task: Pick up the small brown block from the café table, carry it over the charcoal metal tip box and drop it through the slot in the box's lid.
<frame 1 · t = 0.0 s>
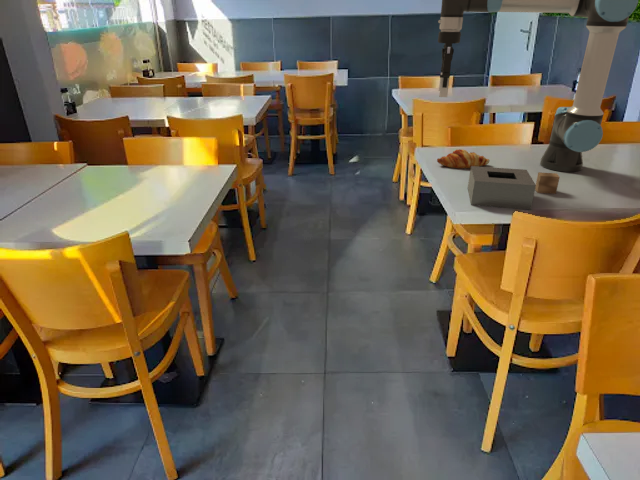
hand: (442, 94, 177), 28 cm above the table, tool pointing down, fingers open, 13 cm apart
tip box: (497, 198, 160), on the table
croissant: (462, 166, 193), on the table
brown block: (545, 191, 167), on the table
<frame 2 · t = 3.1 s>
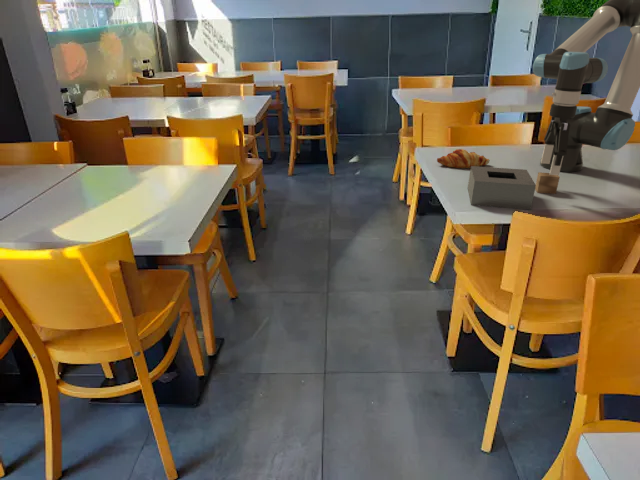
hand: (549, 168, 163), 8 cm above the table, tool pointing down, fingers open, 13 cm apart
nothing on the table moved.
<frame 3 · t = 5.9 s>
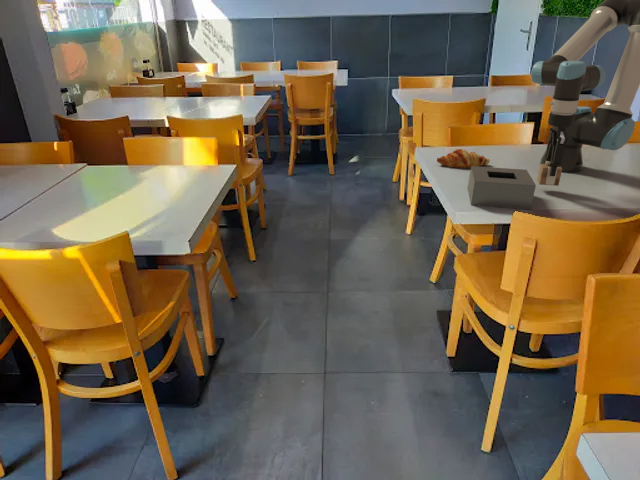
hand: (548, 181, 165), 3 cm above the table, tool pointing down, fingers closed on brown block, 4 cm apart
brown block: (547, 183, 166), point 3 cm above the table, touching gripper
everything else where it was.
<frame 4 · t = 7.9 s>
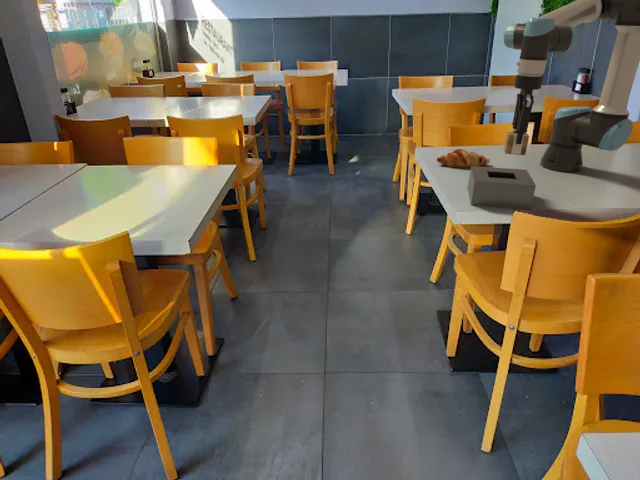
hand: (514, 151, 154), 15 cm above the table, tool pointing down, fingers closed on brown block, 4 cm apart
brown block: (514, 152, 154), point 15 cm above the table, touching gripper
everything else where it was.
when the fingers open (10 cm above the table, at t = 9.7 s): brown block drops 9 cm, resting on tip box.
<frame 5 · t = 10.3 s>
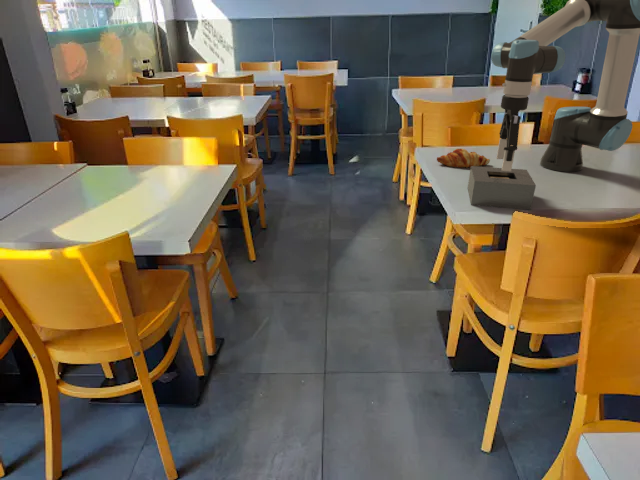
hand: (503, 164, 155), 12 cm above the table, tool pointing down, fingers open, 12 cm apart
brown block: (497, 196, 160), point 1 cm above the table, touching tip box
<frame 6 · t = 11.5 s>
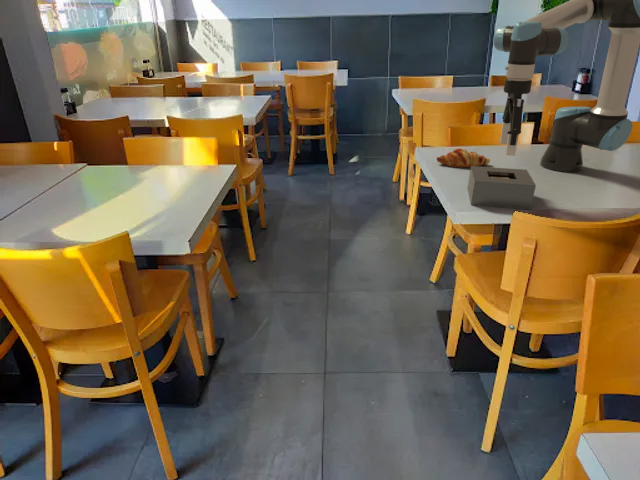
hand: (507, 149, 153), 16 cm above the table, tool pointing down, fingers open, 13 cm apart
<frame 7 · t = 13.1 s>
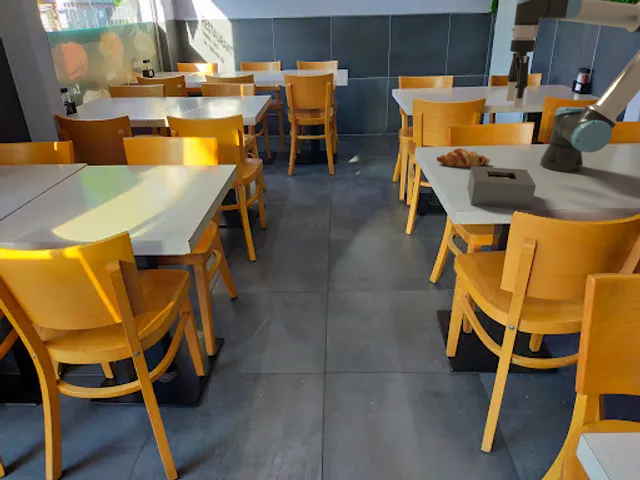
hand: (513, 104, 170), 26 cm above the table, tool pointing down, fingers open, 13 cm apart
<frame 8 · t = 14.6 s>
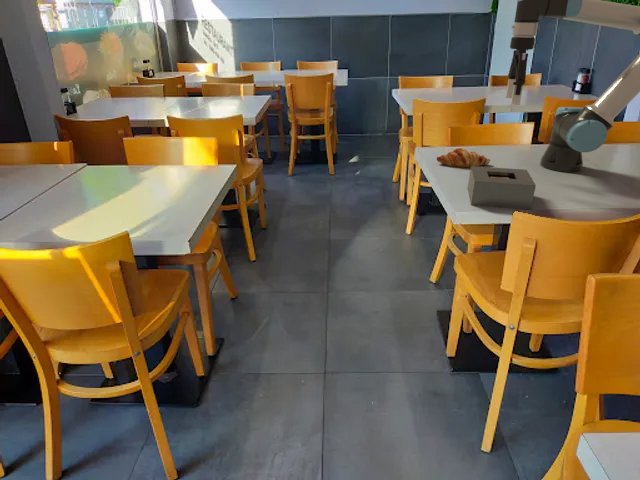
hand: (512, 101, 172), 27 cm above the table, tool pointing down, fingers open, 13 cm apart
at the end: brown block inside the target area on the tip box (0.2 cm from its centre), point 0.6 cm above the tip box's base; the gripper is holding nothing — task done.
